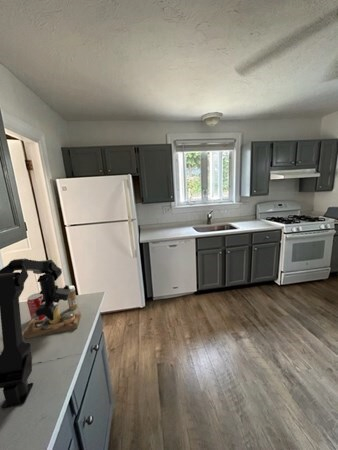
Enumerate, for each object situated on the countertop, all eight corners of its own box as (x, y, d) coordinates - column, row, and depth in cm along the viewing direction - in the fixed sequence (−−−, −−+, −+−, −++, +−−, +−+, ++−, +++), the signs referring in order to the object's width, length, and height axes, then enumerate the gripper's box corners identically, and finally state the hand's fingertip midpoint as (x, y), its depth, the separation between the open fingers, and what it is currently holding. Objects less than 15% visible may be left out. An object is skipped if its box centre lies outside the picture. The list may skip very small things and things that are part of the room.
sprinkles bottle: (78, 309, 109) (75, 287, 106) (69, 313, 106) (65, 290, 104) (77, 306, 113) (73, 284, 110) (68, 309, 110) (64, 287, 108)
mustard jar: (47, 325, 91) (44, 309, 90) (51, 318, 96) (48, 303, 95) (59, 322, 92) (56, 307, 91) (62, 316, 97) (59, 301, 96)
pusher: (44, 332, 91) (43, 325, 90) (33, 334, 90) (32, 327, 89) (49, 323, 97) (48, 316, 96) (39, 325, 96) (38, 318, 96)
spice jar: (74, 326, 94) (73, 317, 93) (62, 328, 93) (60, 319, 92) (77, 319, 99) (75, 310, 98) (65, 321, 98) (64, 312, 97)
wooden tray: (77, 330, 93) (76, 321, 92) (25, 340, 88) (23, 331, 88) (81, 318, 101) (80, 310, 101) (34, 326, 97) (32, 318, 96)
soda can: (46, 320, 101) (41, 297, 99) (29, 324, 99) (24, 301, 96) (48, 312, 108) (44, 291, 105) (33, 316, 105) (28, 294, 103)
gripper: (60, 293, 83) (66, 326, 86) (72, 275, 101) (76, 302, 104) (31, 298, 81) (38, 331, 84) (48, 278, 99) (53, 306, 102)
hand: (54, 316), depth 94 cm, fingers closed on mustard jar, 5 cm apart
